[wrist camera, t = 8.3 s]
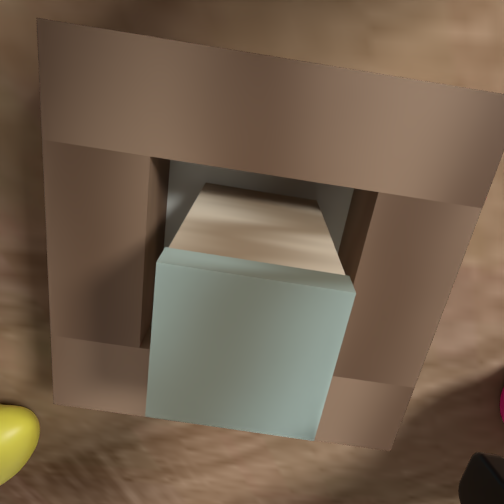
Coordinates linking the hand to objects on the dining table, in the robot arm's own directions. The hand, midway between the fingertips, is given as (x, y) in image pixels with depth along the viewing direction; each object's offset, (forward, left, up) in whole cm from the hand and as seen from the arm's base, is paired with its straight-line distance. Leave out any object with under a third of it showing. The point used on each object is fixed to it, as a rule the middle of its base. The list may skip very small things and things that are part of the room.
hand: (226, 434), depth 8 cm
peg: (0, 0, -9) cm, 9 cm away
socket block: (0, 0, -10) cm, 10 cm away
